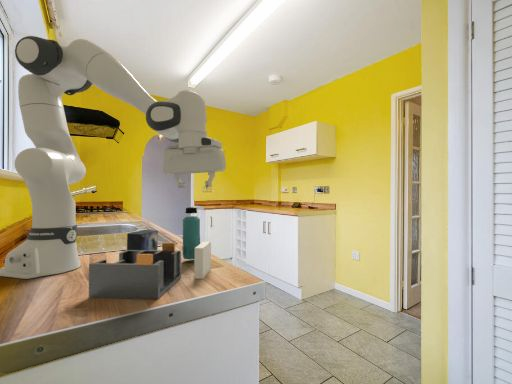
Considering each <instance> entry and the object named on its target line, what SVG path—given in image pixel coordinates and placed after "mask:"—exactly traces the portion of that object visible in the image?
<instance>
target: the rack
mask: <svg viewBox="0 0 512 384" xmlns="http://www.w3.org/2000/svg"><path fill="white" fill-rule="evenodd" d="M161 246H162V248H161V249H162V250H161V249H159V250H158V249H157V250H127V249H125V250H123V251H121V252H119V253H118V258H119V259H118V261H116V262H111V263H110V262H107V259H100V260H98V261H95V262H91V263H89V264H88V298H91V299H93V298H94V299H95V298H96V299H129V300H131V299H135V300H139V299H141V300H159V299H160V298H161V297H162V296H163V295H164V294H165V293H166V292H167V291H169V290H170V289H171V287H173V286H174V285H175V284H176V283H177V282H178V281H179V280H180V279H181V278H182V250H176V242H169V241H167V242H165V241H164V242H162V244H161Z"/></svg>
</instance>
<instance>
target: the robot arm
mask: <svg viewBox="0 0 512 384" xmlns="http://www.w3.org/2000/svg"><path fill="white" fill-rule="evenodd" d="M14 47H15V49H14V54H15V58H16V61H17V63H18V64H19V65H20V66H21V67H22V68H23V69H25V70H26V71H27V72H29V74H25V75H22V76H21V77H20V78H19V80H18V89H17V90H18V91H17V92H18V93H17V94H18V103H19V104H18V105H19V109H20V113H21V114H20V115H21V117H22V119H21V120H22V122H23V123H22V124H23V128H24V133H25V134H26V136H27V137H28V138H29V139H30V141H31V142H32V144H33V145H34V147H29V148H26V149H23V150H21V151H19V153H18V154H17V155H16V157H15V159H14V169H15V171H16V173H17V174H18V175H19V176H20V177H21V178H22V179H23V181H24V183H25V186H26V187H27V191H28V193H29V197H30V201H31V208H32V209H31V214H32V215H31V216H32V219H31V220H32V221H31V222H32V224H31V225H32V226H31V228H30V229H26V230H24V233H23V235H27V236H26V238H25V239H26V240H24V241H23V242H22V243H20V244H18V246H16V247H15V248H14V249H12V250H10V251H9V252H8V253H7V254H6V256H5V260H4V267H1V268H0V277H6V278H15V279H24V280H28V279H29V280H30V279H34V278H38V277H44V276H50V275H58V274H62V273H66V272H70V271H73V270H76V269H79V268H80V267H82V263H81V260H80V256H79V252H78V246H77V236H78V225H77V224H76V223H77V222H76V221H77V219H76V215H77V214H76V213H77V211H76V207H77V205H76V200H75V199H74V197H73V196H72V193H71V189H70V186H71V185H74V184H76V183H79V182H81V181H82V180H83V179H84V178H85V176H86V173H87V169H86V166H85V164H84V163H83V161H82V160H81V158H80V155H79V154H78V151H77V148H76V145H74V142H73V140H72V136H71V135H70V130H69V127H68V122H67V118H66V112H65V107H64V104H63V95H64V94H65V95H68V96H73V95H75V94H78V93H79V94H80V93H83V92H86V91H87V90H89V89H90V88H91V87H92V85H93V86H95V87H96V88H97V89H98V90H101V91H103V92H104V93H106V94H107V95H110V96H112V97H113V98H116V99H118V100H120V101H122V102H124V103H126V104H128V105H130V106H132V107H133V108H136V109H137V110H139V111H140V112H141V113H143V114H144V115H145V121H146V123H147V126H148V127H149V128H150V129H151V130H153V131H154V132H155V133H157V134H159V135H161V136H162V137H165V138H166V139H168V140H169V141H170V142H173V143H178V144H176V145H167V147H166V148H165V149H164V150H163V165H162V171H163V173H165V174H166V175H173V178H174V180H175V181H176V183H177V188H178V189H184V188H185V187H186V186H185V182H183V181H182V180H181V179H182V175H183V174H184V175H185V174H186V175H187V174H200V173H202V174H204V173H207V175H208V176H209V177H208V179H207V180H205V181H204V184H205V185H204V186H205V187H206V188H212V186H213V180H214V179H215V177H216V173H217V172H219V173H220V172H222V173H223V172H224V171H225V170H226V168H227V167H226V165H227V164H226V156H225V152H224V151H223V150H222V148H223V143H222V142H221V141H220V140H217V139H216V138H213V137H208V133H207V128H206V127H207V120H208V119H207V109H206V107H207V106H206V103H205V99H204V98H203V96H202V95H201V94H199V93H198V92H196V91H193V90H189V89H183V90H180V91H178V92H177V94H176V95H174V96H172V97H170V98H169V99H166V100H162V101H161V100H160V101H159V100H158V101H157V100H156V99H154V97H152V96H151V95H150V94H149V93H148V92H147V91H146V90H145V89H144V88H143V86H142V85H140V83H139V82H138V81H137V80H136V79H135V77H134V76H133V75H132V74H131V73H130V71H129V70H128V69H127V68H126V67H125V66H124V65H123V64H122V63H121V62H120V60H118V59H117V58H116V57H114V56H113V54H110V53H109V52H108V51H107V50H105V49H104V48H102V47H100V46H99V45H97V44H96V43H93V42H92V41H89V40H88V39H84V38H79V39H77V38H76V39H74V40H72V41H71V42H70V43H69V44H68V46H61V45H60V44H59V42H58V41H57V40H53V39H46V38H42V37H39V36H34V35H28V36H23V37H22V38H20V39H19V40H18V41H17V42H16V44H15V46H14ZM69 185H70V186H69Z"/></svg>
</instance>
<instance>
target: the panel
mask: <svg viewBox="0 0 512 384" xmlns="http://www.w3.org/2000/svg"><path fill="white" fill-rule="evenodd" d="M211 269H212V241H202V242H201V244H200V245H198V246H197V247H195V259H194V279H197V280H198V279H199V280H200V279H201V280H202V279H204V278H205V276H207V274H208V273H209V271H211Z"/></svg>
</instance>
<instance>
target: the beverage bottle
mask: <svg viewBox="0 0 512 384" xmlns="http://www.w3.org/2000/svg"><path fill="white" fill-rule="evenodd" d="M185 214H198V211H197V207H195V206H191V207H186V208H185ZM201 243H202V242H201V218H199V216H195V215H190V216H189V215H188V216H185V217H183V218H182V247H181V249H182V250H181V256H182V258H183V259H184V260H195V247H197V246H198V245H200V244H201Z"/></svg>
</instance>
